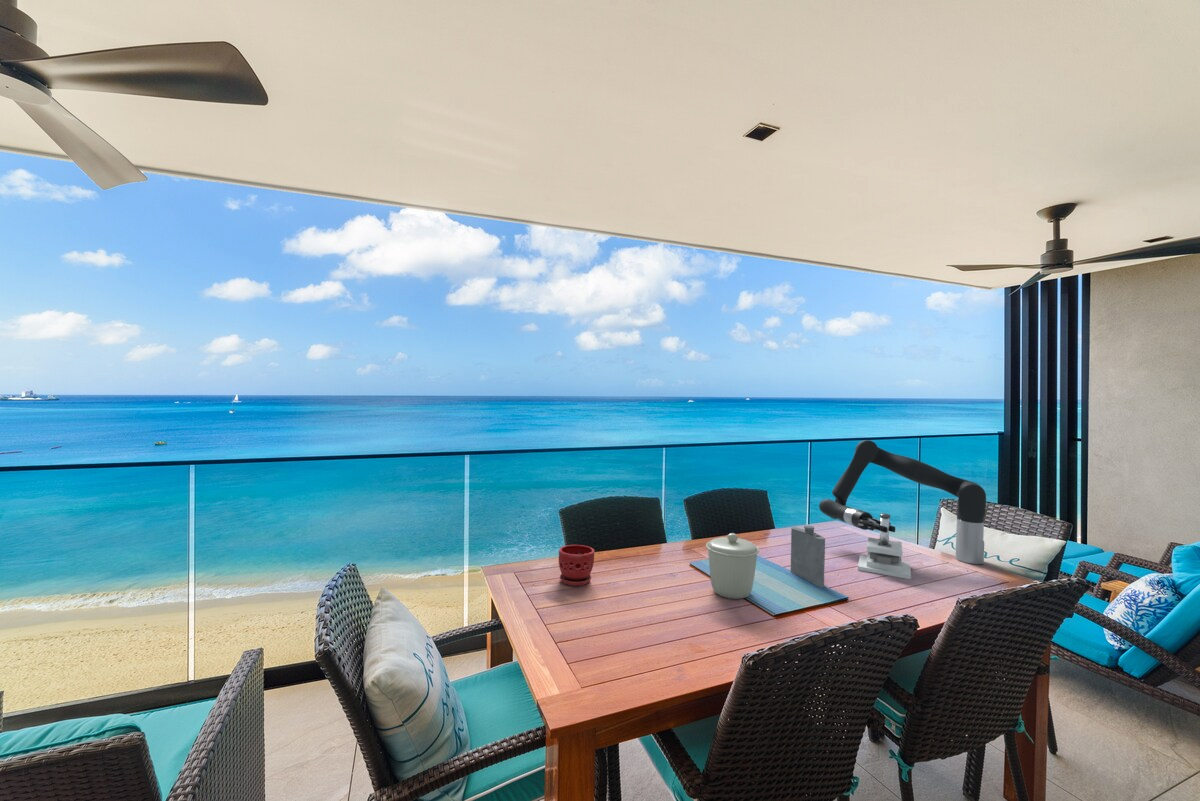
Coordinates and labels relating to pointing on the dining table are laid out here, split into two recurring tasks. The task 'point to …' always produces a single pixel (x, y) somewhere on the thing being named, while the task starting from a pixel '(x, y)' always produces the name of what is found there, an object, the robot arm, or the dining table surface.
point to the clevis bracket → (884, 559)
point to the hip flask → (808, 554)
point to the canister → (732, 566)
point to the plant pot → (576, 564)
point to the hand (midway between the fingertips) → (890, 529)
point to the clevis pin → (885, 522)
